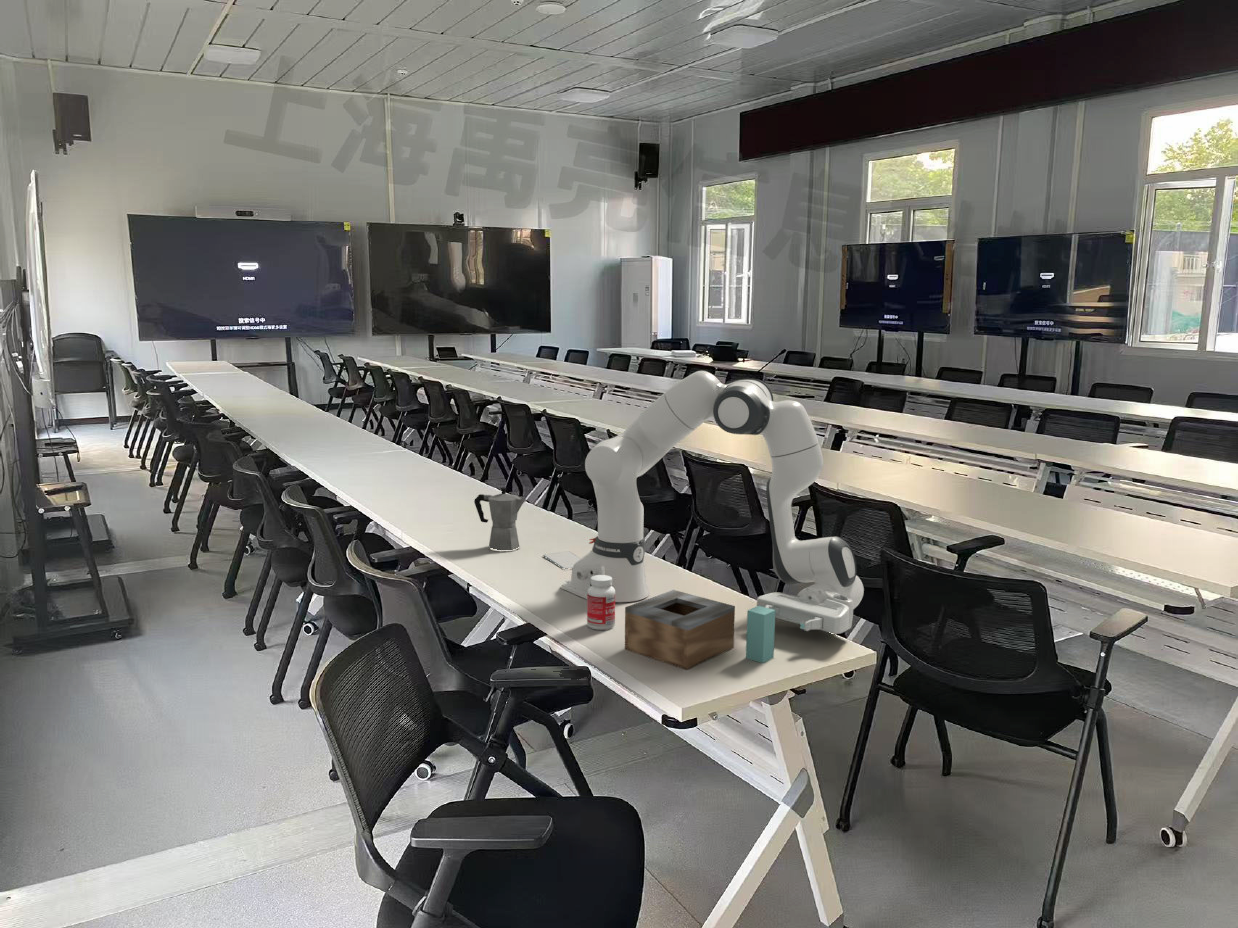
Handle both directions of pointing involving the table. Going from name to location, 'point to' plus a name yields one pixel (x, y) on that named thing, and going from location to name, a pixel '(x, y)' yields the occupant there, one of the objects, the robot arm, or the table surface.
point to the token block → (760, 634)
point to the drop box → (679, 628)
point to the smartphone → (563, 559)
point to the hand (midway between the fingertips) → (783, 621)
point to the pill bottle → (601, 603)
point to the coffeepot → (501, 518)
